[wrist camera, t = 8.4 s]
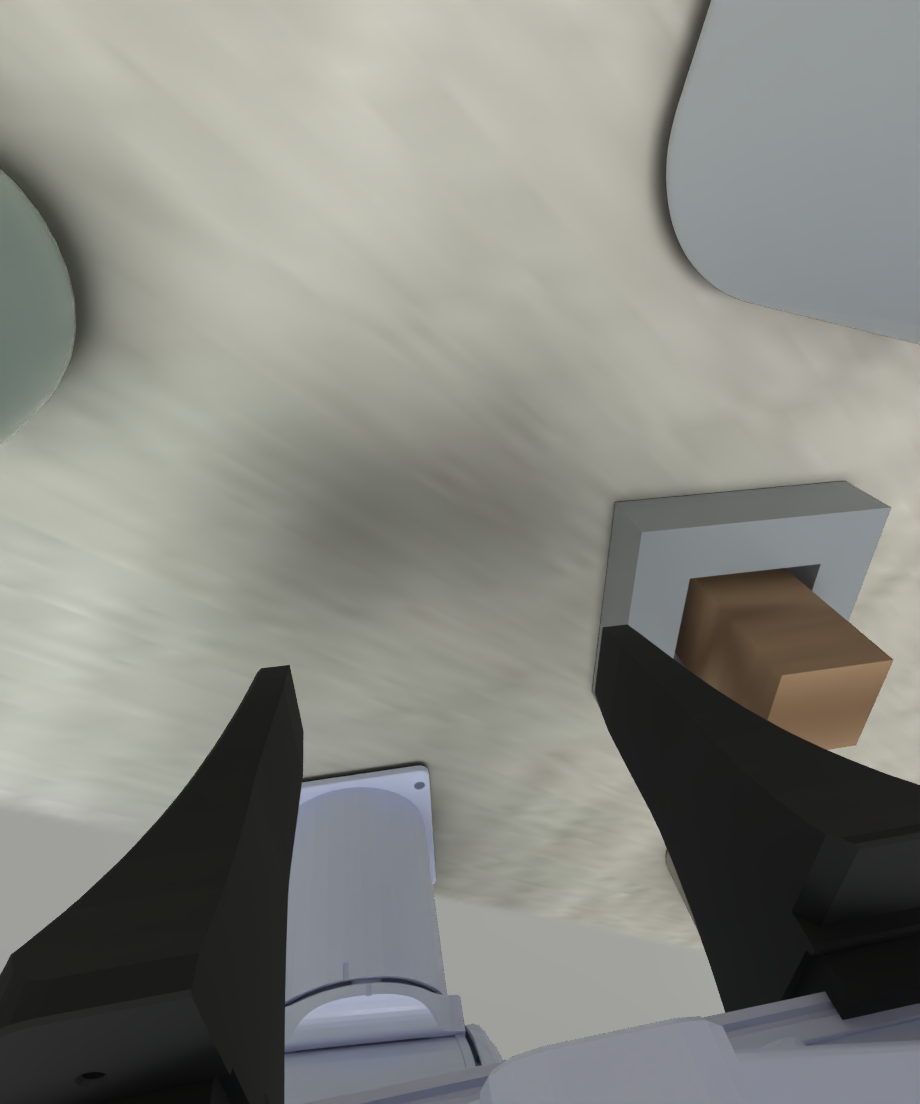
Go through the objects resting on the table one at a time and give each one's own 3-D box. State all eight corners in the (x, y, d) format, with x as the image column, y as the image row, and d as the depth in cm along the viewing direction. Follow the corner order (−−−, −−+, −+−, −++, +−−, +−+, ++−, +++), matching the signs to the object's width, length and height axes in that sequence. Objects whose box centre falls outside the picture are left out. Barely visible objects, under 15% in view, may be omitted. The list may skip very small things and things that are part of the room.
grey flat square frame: (784, 666, 31) (817, 701, 28) (592, 692, 29) (611, 731, 27) (845, 480, 25) (891, 507, 23) (615, 502, 24) (641, 532, 22)
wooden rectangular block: (747, 628, 28) (855, 744, 22) (665, 638, 28) (754, 761, 22) (767, 553, 26) (893, 659, 20) (679, 563, 26) (782, 675, 20)
